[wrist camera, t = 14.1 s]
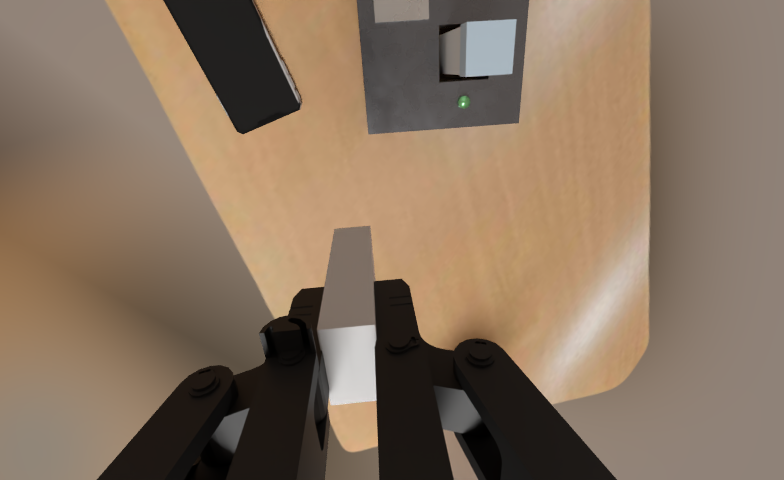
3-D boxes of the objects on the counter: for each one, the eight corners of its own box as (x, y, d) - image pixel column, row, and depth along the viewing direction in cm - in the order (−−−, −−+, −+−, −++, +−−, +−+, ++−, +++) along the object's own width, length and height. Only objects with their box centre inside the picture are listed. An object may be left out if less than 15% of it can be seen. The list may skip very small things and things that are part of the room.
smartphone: (228, -53, 34) (304, 107, 40) (232, -49, 35) (305, 106, 41) (152, -16, 34) (238, 136, 41) (159, -13, 36) (241, 134, 42)
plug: (437, 34, 38) (466, 22, 28) (473, 32, 39) (516, 19, 28) (437, 74, 40) (465, 77, 29) (471, 72, 40) (512, 74, 29)
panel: (355, -19, 36) (354, -30, 32) (515, -29, 37) (534, -40, 33) (368, 128, 42) (368, 134, 38) (505, 118, 43) (520, 123, 39)
